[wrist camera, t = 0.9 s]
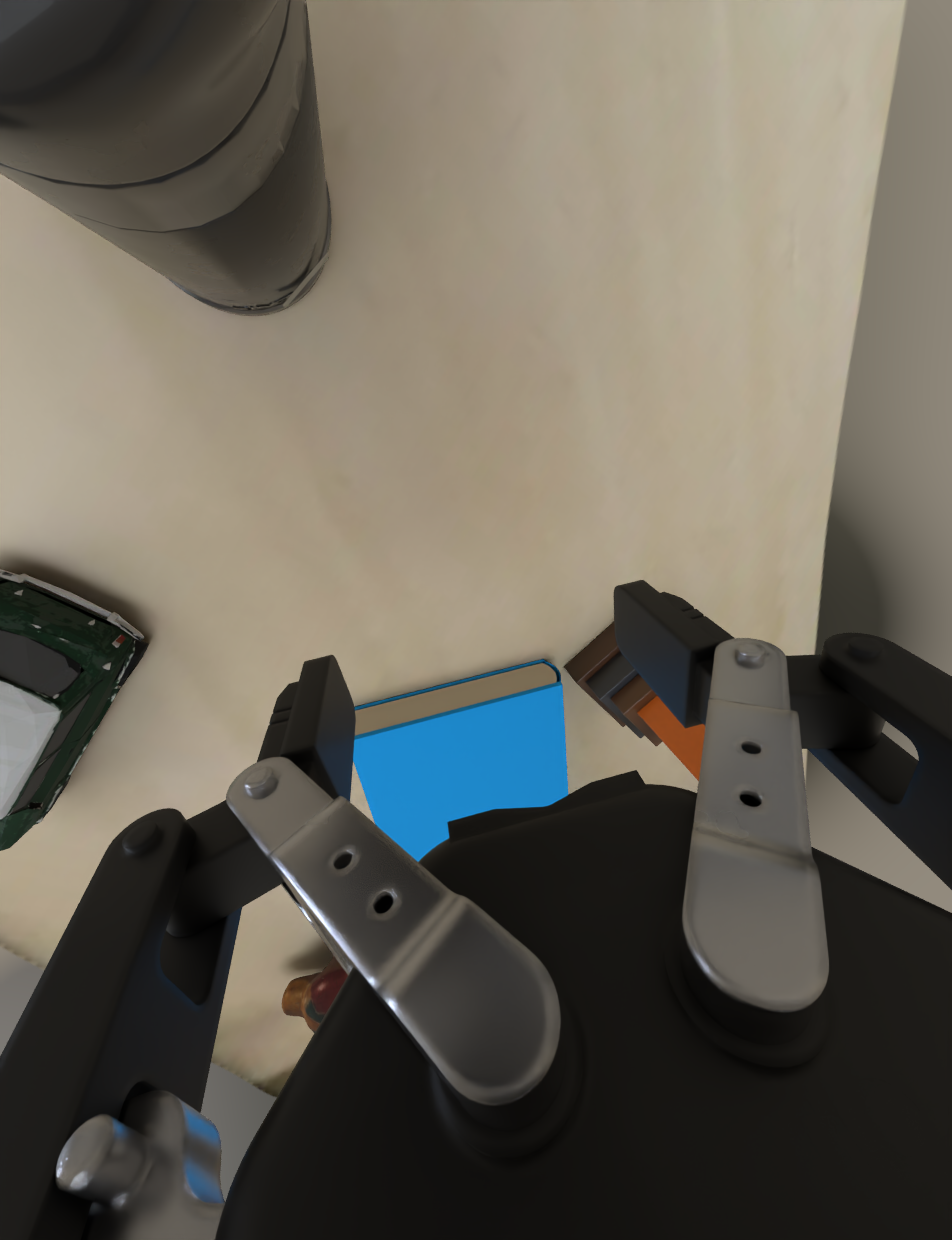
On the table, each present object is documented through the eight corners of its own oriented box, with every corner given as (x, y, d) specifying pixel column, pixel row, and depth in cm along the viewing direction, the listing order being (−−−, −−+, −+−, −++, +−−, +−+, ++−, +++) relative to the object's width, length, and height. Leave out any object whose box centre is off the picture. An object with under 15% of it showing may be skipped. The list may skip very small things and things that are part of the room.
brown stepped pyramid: (563, 666, 40) (603, 716, 33) (630, 606, 39) (683, 646, 32) (609, 710, 43) (652, 763, 37) (671, 656, 42) (726, 701, 36)
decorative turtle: (439, 952, 53) (447, 1040, 46) (302, 983, 51) (290, 1079, 44) (430, 905, 48) (438, 996, 41) (279, 937, 46) (262, 1037, 39)
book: (414, 938, 44) (342, 746, 32) (409, 895, 48) (342, 709, 36) (580, 881, 47) (570, 684, 35) (563, 844, 51) (548, 655, 39)
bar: (636, 712, 34) (722, 808, 26) (674, 679, 34) (773, 767, 26) (659, 735, 36) (747, 831, 28) (696, 705, 35) (795, 794, 27)
